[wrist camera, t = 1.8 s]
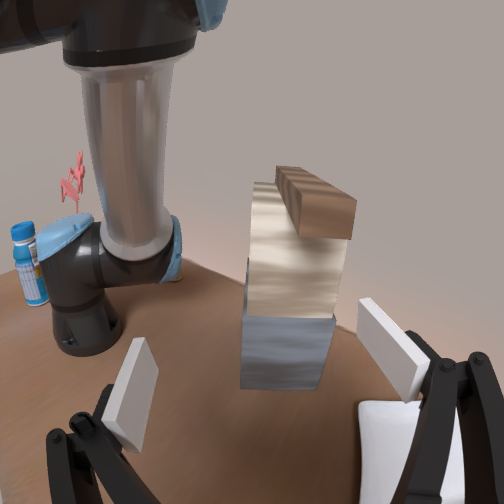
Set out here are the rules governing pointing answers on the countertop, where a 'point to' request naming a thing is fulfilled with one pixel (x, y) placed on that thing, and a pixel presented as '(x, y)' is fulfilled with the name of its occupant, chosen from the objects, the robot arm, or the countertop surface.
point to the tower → (287, 299)
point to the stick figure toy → (77, 174)
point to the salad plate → (399, 451)
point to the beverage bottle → (28, 264)
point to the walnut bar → (315, 204)
